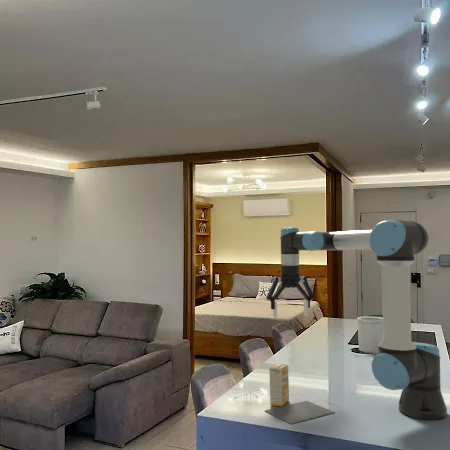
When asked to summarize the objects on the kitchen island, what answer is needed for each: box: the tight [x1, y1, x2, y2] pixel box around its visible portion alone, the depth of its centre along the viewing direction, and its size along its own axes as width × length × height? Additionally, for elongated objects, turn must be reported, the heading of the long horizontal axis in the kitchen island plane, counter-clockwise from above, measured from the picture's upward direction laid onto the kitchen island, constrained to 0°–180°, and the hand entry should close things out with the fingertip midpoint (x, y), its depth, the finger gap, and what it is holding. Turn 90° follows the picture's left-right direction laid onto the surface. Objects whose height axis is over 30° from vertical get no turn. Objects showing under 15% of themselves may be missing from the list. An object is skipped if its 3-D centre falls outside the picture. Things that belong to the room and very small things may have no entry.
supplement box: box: [268, 363, 290, 407], centre depth 166 cm, size 8×5×13 cm, turn 155°
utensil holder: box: [356, 315, 383, 354], centre depth 252 cm, size 15×15×18 cm
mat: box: [264, 400, 335, 425], centre depth 157 cm, size 14×19×1 cm
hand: (290, 316), depth 189 cm, fingers open, 13 cm apart
